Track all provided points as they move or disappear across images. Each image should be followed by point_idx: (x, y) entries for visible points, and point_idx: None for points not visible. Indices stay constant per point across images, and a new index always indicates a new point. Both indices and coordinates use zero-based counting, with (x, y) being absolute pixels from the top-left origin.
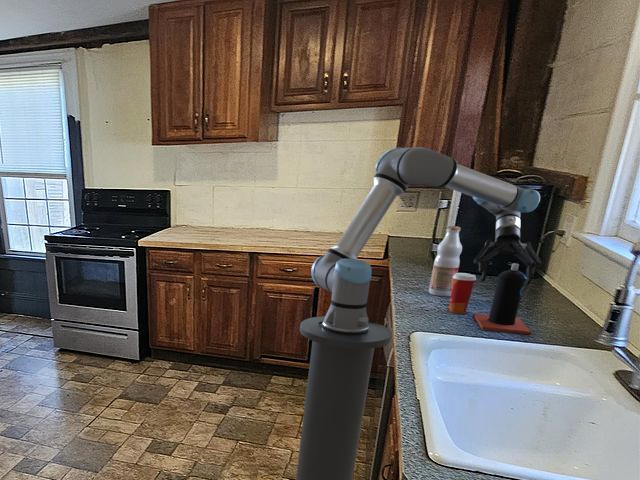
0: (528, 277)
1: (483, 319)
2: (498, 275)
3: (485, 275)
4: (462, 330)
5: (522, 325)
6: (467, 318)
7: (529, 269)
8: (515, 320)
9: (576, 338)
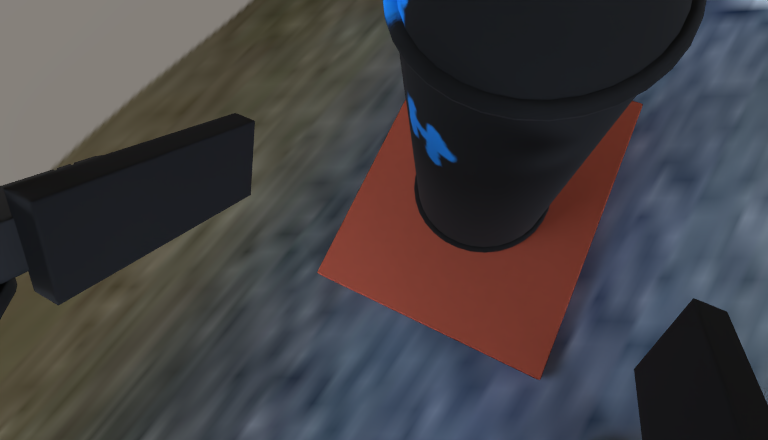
0: (220, 150)
1: (559, 234)
2: (697, 28)
3: (707, 319)
4: (756, 95)
5: (407, 129)
6: (609, 322)
7: (123, 165)
8: (379, 215)
9: (277, 15)
